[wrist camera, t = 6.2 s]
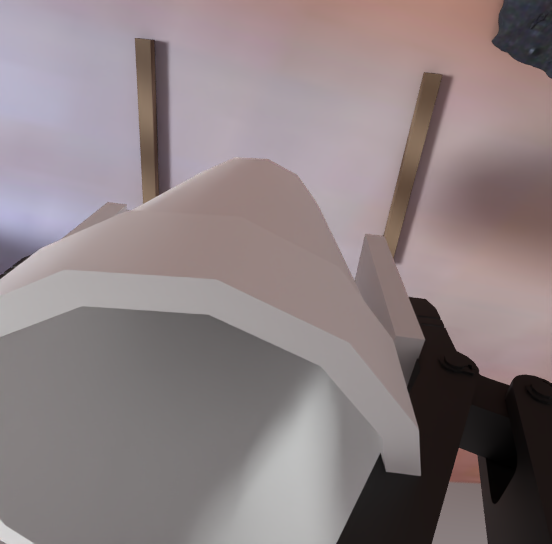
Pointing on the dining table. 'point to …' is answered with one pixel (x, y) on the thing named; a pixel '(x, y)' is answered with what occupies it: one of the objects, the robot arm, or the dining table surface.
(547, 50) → the dark slate chunk
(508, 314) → the dining table surface
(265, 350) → the foam cup
